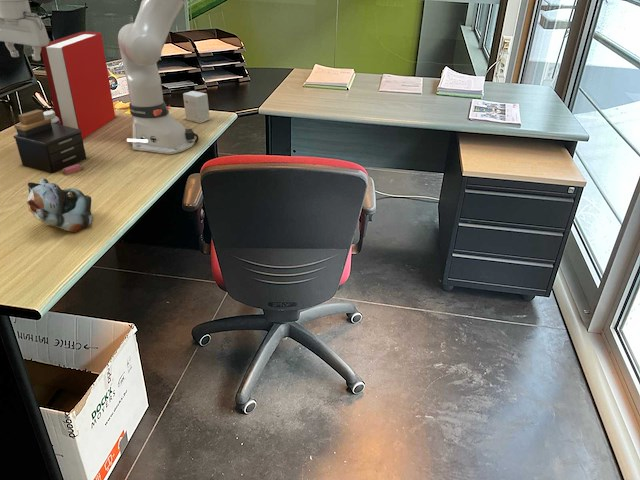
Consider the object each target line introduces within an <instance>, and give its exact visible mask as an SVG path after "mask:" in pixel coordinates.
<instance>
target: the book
mask: <svg viewBox="0 0 640 480" xmlns="http://www.w3.org/2000/svg"><path fill="white" fill-rule="evenodd" d="M40 53H41V56H42V57H41V58H42V62H43V65H44V70H45V75H46V78H47V79H46V80H47V82H48V87H49V93H50V97H51V101H52V106H53V109H54V110H53V111H54V112H55V116H57V117H58V118H59V120H60V123H61V125H63V126H67V127H72V128H76V129H80V130H82V132H81V135H82V139H85V138H86V137H88V136H89V135H91V134H92V133H94V132H96V131H97V130H99V129H100V128H102V127H103V126H105V125H106V124H107V123H109V122H111V121H112V120H114V119H116V112H115V106H114V102H113V93H112V90H111V89H112V87H111V82H110V78H109V72H108V66H107V59H106V53H105V47H104V42H103V36H102V32H100V31H88V30H87V31H79V32H76V33H73V34H70V35H67V36H64V37H61V38H58V39H55V40H51V41H49V44H48V45H47V46H43V47H41V52H40Z"/></svg>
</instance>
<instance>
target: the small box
mask: <svg viewBox="0 0 640 480" xmlns="http://www.w3.org/2000/svg"><path fill="white" fill-rule="evenodd" d="M182 96H183V97H182V98H183V105H184V106H183V107H184V114H185V115H184V116H185V120H186V121H191V122H194V123H198V124H203V123H204V122H207V121H209V120H210V119H211V118H210V109H209V107H210V106H209V99H208V93H204V92H200V91H197V90H190V91H188V92H184V93H182Z"/></svg>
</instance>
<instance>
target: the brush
mask: <svg viewBox="0 0 640 480" xmlns="http://www.w3.org/2000/svg"><path fill="white" fill-rule="evenodd" d="M43 112H44V110H42V109H39V108H38V109H34V110H31V111H27V112H24V113H21V114H18V115H17V116H18V120H19V122H18V123H15V124H13V125H14V129H15V130H16V133H17V134H16V135H21V136H25V137H28V136H31V135H34V134H37V133H39V132H42V131H45V130H48V129H51V128H52V125H51V122H52V121H51V118H47V117H44V114H43Z"/></svg>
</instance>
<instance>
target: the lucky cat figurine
mask: <svg viewBox="0 0 640 480" xmlns="http://www.w3.org/2000/svg"><path fill="white" fill-rule="evenodd" d="M27 186H28V197H27V200H26V204H27V209H28V211H29V212H30V213H31V214H32V216H33V217H34V218H35V219H36V220H38V221H40V222H42V223H45V225H46V226H52V227H54V228H55V227H56V228H58V229H62V230H64V231H68V232H71V233H76V232H79V231H82V230H85V229H87V227H88V226H90V225H91V224H92V222H93V220H94V217H93V214H92V200H93V199H92V196H89V195H87V194H84V192H82V191H81V190H79V189H77V188H74V187H73V188H65V189H62V188H61V187H60V185H58V184H57V183H55V182H50V181H48V179H47V178H41V179H40V181H39V183H36V182H32V181H31V182H30V181H29V182H27Z"/></svg>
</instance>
